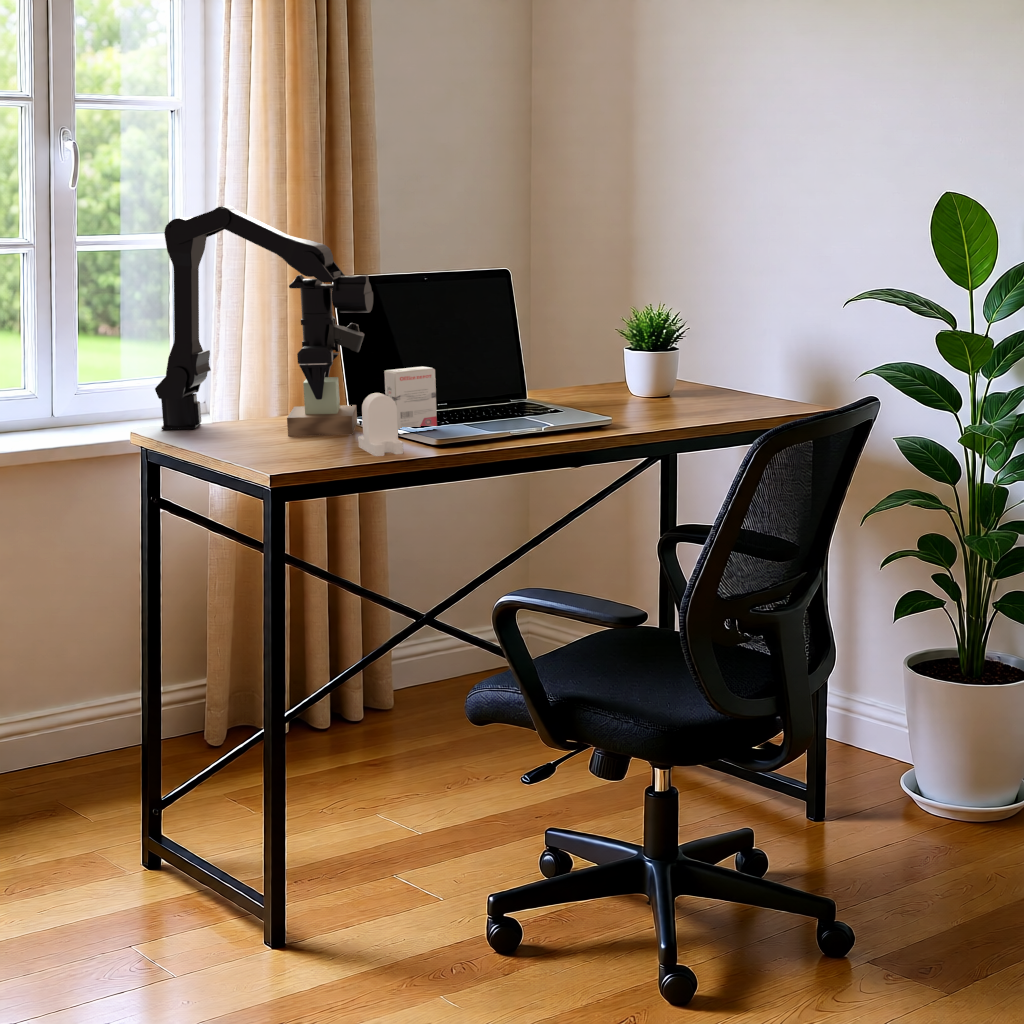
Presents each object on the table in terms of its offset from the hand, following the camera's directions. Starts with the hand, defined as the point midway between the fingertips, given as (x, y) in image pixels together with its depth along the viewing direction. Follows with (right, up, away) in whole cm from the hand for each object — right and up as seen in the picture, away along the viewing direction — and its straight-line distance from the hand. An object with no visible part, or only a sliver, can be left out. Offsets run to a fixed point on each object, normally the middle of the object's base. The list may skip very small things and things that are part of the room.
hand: (321, 395), depth 263 cm
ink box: (+17, -7, -2) cm, 19 cm away
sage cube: (0, -3, +1) cm, 3 cm away
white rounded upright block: (+13, -11, -18) cm, 25 cm away
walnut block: (0, -7, +2) cm, 7 cm away
